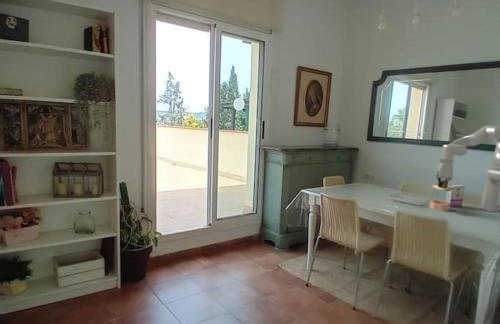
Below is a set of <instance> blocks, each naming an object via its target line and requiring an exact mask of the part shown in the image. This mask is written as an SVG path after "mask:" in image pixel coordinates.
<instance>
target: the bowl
mask: <svg viewBox="0 0 500 324" xmlns="http://www.w3.org/2000/svg"><path fill="white" fill-rule="evenodd" d="M428 207H429V208H430V209H432V210H435V211H441V212H448V211H450V209H451V207H450V203H448V202H446V200H439V199H431V200H430V201H429V206H428Z"/></svg>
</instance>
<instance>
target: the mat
mask: <svg viewBox="0 0 500 324" xmlns="http://www.w3.org/2000/svg"><path fill="white" fill-rule="evenodd" d="M452 212H453V213H455V214H457V215H459V216H462V217H478V216H477V215H476V214H473V213H471V212H469V211H465V210H463V211H460V210H452Z"/></svg>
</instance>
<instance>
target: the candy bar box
mask: <svg viewBox="0 0 500 324" xmlns="http://www.w3.org/2000/svg"><path fill="white" fill-rule="evenodd" d="M447 187H451V188H453V189H454V191H446V197H445V202H448V203H450V208H462V206H463V200H464V193H465V185H461V184H448V185H447Z"/></svg>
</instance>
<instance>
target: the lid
mask: <svg viewBox="0 0 500 324" xmlns="http://www.w3.org/2000/svg"><path fill="white" fill-rule="evenodd" d="M446 186H447V188H446ZM431 189H435V190H438V191H444V192H445V191H446V192H447V191H454V189H453V188H451V187H448V185H447V181H445V179H444V180H443V179H442V187H438V184H432V185H431Z"/></svg>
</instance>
